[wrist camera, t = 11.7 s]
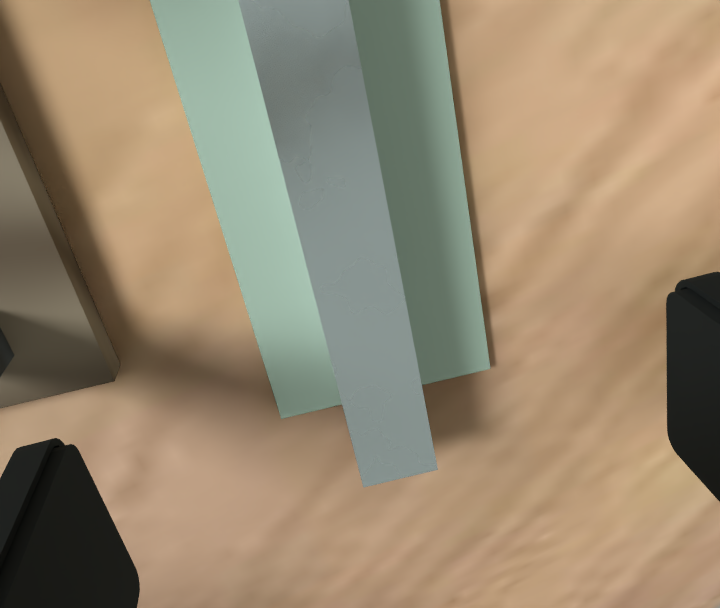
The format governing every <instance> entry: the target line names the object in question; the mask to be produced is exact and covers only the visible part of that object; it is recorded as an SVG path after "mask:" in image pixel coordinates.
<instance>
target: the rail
mask: <svg viewBox="0 0 720 608" xmlns="http://www.w3.org/2000/svg"><path fill="white" fill-rule="evenodd" d="M238 1H239V5H240V9H241V13H242V17H243V21H244V25H245V28H246V32H247V36H248V40H249V44H250V48H251V52H252V56H253V60H254V63H255V67H256V71H257V75H258V79H259V83H260V87H261V91H262V95H263V98H264V102H265V106H266V110H267V114H268V118H269V122H270V126H271V130H272V133H273V137H274V141H275V145H276V149H277V153H278V157H279V161H280V165H281V168H282V172H283V176H284V180H285V184H286V188H287V192H288V196H289V200H290V203H291V207H292V211H293V215H294V219H295V223H296V227H297V231H298V235H299V238H300V242H301V246H302V250H303V254H304V258H305V262H306V266H307V270H308V273H309V277H310V281H311V285H312V289H313V293H314V297H315V301H316V305H317V308H318V312H319V316H320V320H321V324H322V328H323V332H324V336H325V340H326V343H327V347H328V351H329V355H330V359H331V363H332V367H333V371H334V375H335V378H336V382H337V386H338V390H339V394H340V398H341V402H342V406H343V410H344V413H345V417H346V421H347V425H348V429H349V433H350V437H351V441H352V445H353V448H354V452H355V456H356V460H357V464H358V468H359V472H360V476H361V480H362V483H363V487H367V486H371V485H376V484H380V483H384V482H388V481H392V480H396V479H401V478H405V477H409V476H413V475H417V474H422V473H426V472H430V471H434V470H438V468H437V463H436V458H435V452H434V447H433V442H432V437H431V431H430V426H429V421H428V416H427V410H426V405H425V400H424V395H423V389H422V384H421V379H420V373H419V368H418V363H417V358H416V352H415V347H414V342H413V337H412V331H411V326H410V321H409V316H408V310H407V305H406V300H405V295H404V289H403V284H402V279H401V274H400V268H399V263H398V258H397V252H396V247H395V242H394V237H393V231H392V226H391V221H390V216H389V210H388V205H387V200H386V195H385V189H384V184H383V179H382V174H381V168H380V163H379V158H378V153H377V147H376V142H375V137H374V131H373V126H372V121H371V116H370V110H369V105H368V100H367V95H366V89H365V84H364V79H363V74H362V68H361V63H360V58H359V53H358V47H357V42H356V37H355V32H354V26H353V21H352V16H351V10H350V5H349V0H238Z"/></svg>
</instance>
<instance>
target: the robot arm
mask: <svg viewBox="0 0 720 608" xmlns="http://www.w3.org/2000/svg"><path fill="white" fill-rule="evenodd" d="M666 318H667V431H668V437H669V440H670V443H671V445H672V447H673V449H674V451H675V452H676V453H677V455H678V456H679V457H680V458H681V459H682V460H683V461H684V462H685V464H686V465H687V466H688V467H689V468H690V469H691V470H692V471H693V472H694V474H695V475H696V476H697V477H698V478H699V479H700V480H701V481H702V483H703V484H704V485H705V486H706V487H707V488H708V489H709V490H710V491H711V493H712V494H713V495H714V496H715V497H716V498H717V499H718V500H719V501H720V273H719V272H713V273H709V274H705V275H701V276H697V277H693V278H689V279H685V280H681V281H680V282H679V283H678V284H677V286H676V288H675V292H671V293H670V294H669V295H668V297H667V303H666ZM139 591H140V587H139V577H138V573H137V570H136V568H135V566H134V564H133V562H132V559H131V557H130V555H129V553H128V551H127V549H126V547H125V545H124V543H123V541H122V539H121V537H120V535H119V533H118V531H117V529H116V526H115V524H114V522H113V520H112V518H111V516H110V514H109V512H108V510H107V508H106V506H105V504H104V502H103V500H102V498H101V496H100V493H99V491H98V489H97V487H96V485H95V483H94V481H93V479H92V477H91V475H90V473H89V471H88V469H87V467H86V465H85V463H84V460H83V458H82V456H81V454H80V452H79V451H78V449H77V447H75V446H74V445H72V444H69V445H64V443H63V442H62V441H61V440H60V439H57V438H54V439H50V440H46V441H42V442H38V443H34V444H31V445H27V446H23V447H19V448H17V449H16V450H15V451H14V453H13V454H12V456H11V458H10V460H9V462H8V464H7V466H6V468H5V470H4V472H3V474H2V476H1V478H0V608H137V604H138V598H139Z"/></svg>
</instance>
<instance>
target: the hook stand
mask: <svg viewBox="0 0 720 608" xmlns="http://www.w3.org/2000/svg"><path fill="white" fill-rule="evenodd" d="M119 367H120V363H119V361H118V358H117V356H116V354H115V351H114V349H113V347H112V344H111V342H110V339H109V337H108V335H107V332H106V330H105V328H104V325H103V323H102V321H101V318H100V316H99V314H98V311H97V309H96V307H95V304H94V302H93V300H92V297H91V295H90V293H89V290H88V288H87V286H86V283H85V281H84V279H83V276H82V274H81V272H80V269H79V267H78V265H77V262H76V260H75V258H74V255H73V253H72V250H71V248H70V246H69V243H68V241H67V239H66V236H65V234H64V232H63V229H62V227H61V225H60V222H59V220H58V218H57V215H56V213H55V211H54V208H53V206H52V204H51V201H50V199H49V197H48V194H47V192H46V190H45V187H44V185H43V183H42V180H41V178H40V176H39V173H38V171H37V168H36V166H35V164H34V161H33V159H32V157H31V154H30V152H29V150H28V147H27V145H26V143H25V140H24V138H23V136H22V133H21V131H20V129H19V126H18V124H17V122H16V119H15V117H14V115H13V112H12V110H11V108H10V105H9V103H8V101H7V98H6V96H5V94H4V91H3V89H2V87H1V84H0V408H3V407H8V406H12V405H16V404H20V403H24V402H29V401H33V400H37V399H41V398H45V397H50V396H54V395H58V394H62V393H66V392H71V391H75V390H79V389H83V388H87V387H92V386H96V385H100V384H104V383H109V382H113V381H115V378H116V375H117V373H118V370H119Z"/></svg>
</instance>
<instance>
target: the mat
mask: <svg viewBox="0 0 720 608" xmlns="http://www.w3.org/2000/svg"><path fill="white" fill-rule="evenodd" d="M150 2H151V6H152V9H153V12H154V15H155V18H156V22H157V25H158V28H159V31H160V34H161V37H162V41H163V44H164V47H165V50H166V53H167V57H168V60H169V63H170V66H171V69H172V72H173V76H174V79H175V82H176V85H177V88H178V92H179V95H180V98H181V101H182V104H183V107H184V111H185V114H186V117H187V120H188V123H189V127H190V130H191V133H192V136H193V139H194V142H195V146H196V149H197V152H198V155H199V158H200V162H201V165H202V168H203V171H204V174H205V177H206V181H207V184H208V187H209V190H210V193H211V197H212V200H213V203H214V206H215V209H216V212H217V216H218V219H219V222H220V225H221V228H222V232H223V235H224V238H225V241H226V244H227V247H228V251H229V254H230V257H231V260H232V263H233V267H234V270H235V273H236V276H237V279H238V282H239V286H240V289H241V292H242V295H243V298H244V302H245V305H246V308H247V311H248V314H249V317H250V321H251V324H252V327H253V330H254V333H255V336H256V340H257V343H258V346H259V349H260V352H261V356H262V359H263V362H264V365H265V368H266V371H267V375H268V378H269V381H270V384H271V387H272V391H273V394H274V397H275V400H276V403H277V406H278V410H279V413H280V416H281V419H283V418H287V417H291V416H295V415H300V414H304V413H308V412H312V411H316V410H321V409H325V408H329V407H333V406H337V405H341V404H342V402H341V398H340V394H339V390H338V386H337V382H336V378H335V375H334V371H333V367H332V363H331V359H330V355H329V351H328V347H327V343H326V340H325V336H324V332H323V328H322V324H321V320H320V316H319V312H318V308H317V305H316V301H315V297H314V293H313V289H312V285H311V281H310V277H309V273H308V270H307V266H306V262H305V258H304V254H303V250H302V246H301V242H300V238H299V235H298V231H297V227H296V223H295V219H294V215H293V211H292V207H291V203H290V200H289V196H288V192H287V188H286V184H285V180H284V176H283V172H282V168H281V165H280V161H279V157H278V153H277V149H276V145H275V141H274V137H273V133H272V130H271V126H270V122H269V118H268V114H267V110H266V106H265V102H264V98H263V95H262V91H261V87H260V83H259V79H258V75H257V71H256V67H255V63H254V60H253V56H252V52H251V48H250V44H249V40H248V36H247V32H246V28H245V25H244V21H243V17H242V13H241V9H240V5H239V1H238V0H150ZM349 5H350V10H351V16H352V21H353V26H354V32H355V37H356V42H357V47H358V53H359V58H360V63H361V68H362V74H363V79H364V84H365V89H366V95H367V100H368V105H369V110H370V116H371V121H372V126H373V131H374V137H375V142H376V147H377V153H378V158H379V163H380V168H381V174H382V179H383V184H384V189H385V195H386V200H387V205H388V210H389V216H390V221H391V226H392V231H393V237H394V242H395V247H396V252H397V258H398V263H399V268H400V274H401V279H402V284H403V289H404V295H405V300H406V305H407V310H408V316H409V321H410V326H411V331H412V337H413V342H414V347H415V352H416V358H417V363H418V368H419V373H420V379H421V384H422V385H425V384H429V383H433V382H437V381H441V380H446V379H450V378H454V377H458V376H462V375H467V374H471V373H475V372H479V371H483V370H487V369H490V362H489V355H488V348H487V340H486V333H485V326H484V319H483V312H482V304H481V297H480V290H479V283H478V275H477V268H476V261H475V254H474V246H473V239H472V232H471V225H470V218H469V210H468V203H467V196H466V189H465V181H464V174H463V167H462V160H461V152H460V145H459V138H458V131H457V123H456V116H455V109H454V102H453V95H452V87H451V80H450V73H449V66H448V58H447V51H446V44H445V37H444V29H443V22H442V15H441V8H440V1H439V0H349Z"/></svg>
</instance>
